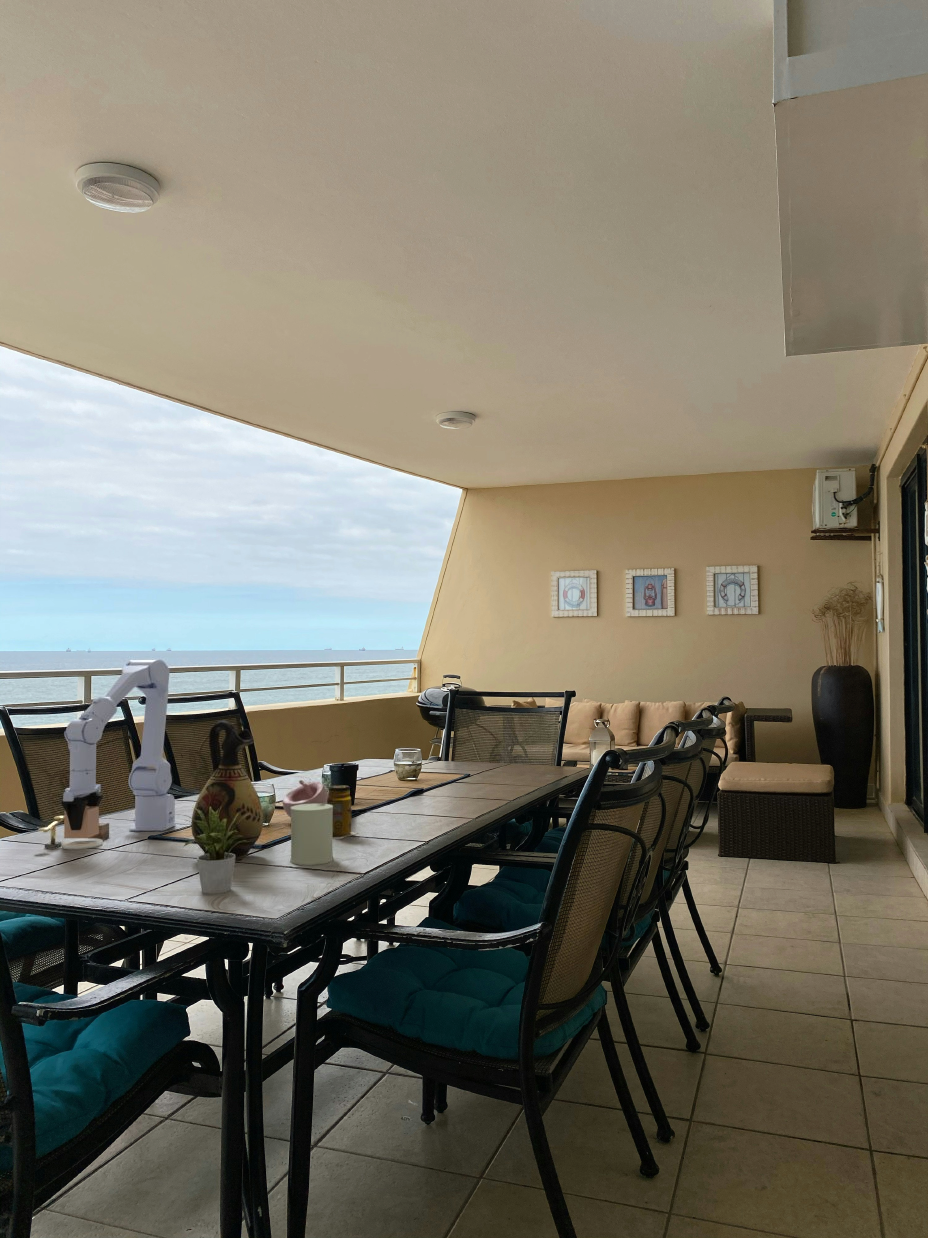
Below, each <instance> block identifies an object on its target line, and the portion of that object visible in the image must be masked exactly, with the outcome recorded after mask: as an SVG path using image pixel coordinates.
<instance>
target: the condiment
mask: <svg viewBox="0 0 928 1238" xmlns="http://www.w3.org/2000/svg"><path fill="white" fill-rule="evenodd" d="M350 789H351V788H350V786H349V785H345V784H344V785H343V784H337V785H335V784H334V785H330V786H329V787H328V792H327V795H328V798H327V804H330V805H332V806H333V819H332V839H335V840H341V839H344V838H347V837H350V836H353V835H357V834H358V832H356V831H355V832H354V831H352V797H351V795H350V794H351V793H350V792H351V791H350Z"/></svg>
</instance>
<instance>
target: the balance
mask: <svg viewBox="0 0 928 1238" xmlns="http://www.w3.org/2000/svg"><path fill="white" fill-rule="evenodd" d="M53 820H55V821H53V822H52V823H50V824H49V825H48V826H45V827H41V828H40V827H39V828H38V832H43V833H48V832H50V841H49V842H46V843H45V844H44V849H45V848H47V849H48V848H55V849H57V848H59V847H58V846H60V847H61V843H62V841H56V835H57V833H56V828H57V827H56V826H57V825H58V824H60V823H61V822H63V821H64V815H56V816H53ZM56 847H57V848H56Z"/></svg>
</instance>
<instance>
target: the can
mask: <svg viewBox="0 0 928 1238" xmlns="http://www.w3.org/2000/svg"><path fill="white" fill-rule="evenodd" d="M332 819H333V806H332V805H330V804H319V803H314V804H300V805H295V806H292V807H291V818H290V861H289V862H290V863H291V864H293V865H299V866H300V865H301V866H317V865H323V864H327V863H331V862H332V861H333V860H334V854H333V852H334V851H333V850H334V849H333V848H334V847H333V838H332Z"/></svg>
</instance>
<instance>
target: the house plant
mask: <svg viewBox="0 0 928 1238" xmlns="http://www.w3.org/2000/svg"><path fill="white" fill-rule="evenodd" d="M221 807H222V806H221ZM194 809H196V808H194V807H193V810H194ZM220 809H221V808H220ZM196 810H197V811H198V813H199V814H200V816H201V819H202V821H197V822H198V823H199V824H198V823H197V822H196V821H195V820H194V819H193V818H192V816H189V815H186V814H183V816H185V817H187V818H189V819H191V820H192V819H193V820H194V821H195V822H196V823H197V824H196V825H198V826H199V827H200V828H201V829H202V831H203V832H204V834H202V835H200V836H197V837H199V838H200V839H202V841H203V842H204V843H203V842H200V841H195V840H190V839H189V838H186V837H185V839H186V840H189V841H186V842H185V843H184V845H183V846H182V848H184V847H187V846H188V845H190V844H194V843H197V842H200V843H202V844H203V845H204V846H205V848H206V850H208V853H209V854H204V853H203V854H202V855H199V856H197V857H196V862H197V868H198V875H199V882H200V886H201V892H202V893H204V894H211V895H212V894H221V893H226V892H229V891H230V890H231V888H232V887H231V886H232V881H233V874H234V869H235V862H236V861H235V854H232V853H229V852H230V851H231V849H232V848H233V847H234V846H235V845H236V844H238V843H240V842H243V841H246V840H243V841H240V842H238V843H236V844H235V845H233V846H232V847H231V849H230V850H229V852H228V853H225V852H226V850H227V848H228V847H229V846H230V845H231V843H232V842H233V841H234V840H235V839H237V838H239V837H242V836H240V835H237V836H233V837H231V838H230V839H229V840H228V841H227V842H226V840H227V838H228V836H229V835H230V834H231V833H232V832H234V831H232V830H231V831H230V832H229V829H230V828H231V826H232V824H233V823H234V821H235V819H236V817H237V815H238V814H239V813H238V814H237V815H236V817H235V818H234V820H233V821H232V823H231V825H230V827H229V828H228V830H227V832H226V835H225V836H224V834H225V830H226V821H227V818H225V819H223V820H222V821H221V822H220V820H219V812H220V810H219V809H218V810H219V812H218V810H217V811H216V812H214V811H213V810H212V809H211V807H210V808H209V823H210V829H209V827H208V824H207V822H206V819H205V816H204V815H203V813H202V812H201V811H200V810H198V809H196ZM217 812H218V815H217ZM250 814H251V813H250ZM174 815H175V816H176V815H177V816H180V814H179V813H178V814H176V813H175V814H174ZM247 815H248V814H247ZM244 817H245V816H244ZM244 817H243V818H244ZM185 822H189V823H190V824H191V823H192V821H190V820H187V819H185ZM192 824H193V823H192ZM193 825H194V824H193ZM194 826H195V825H194ZM195 827H196V826H195ZM234 827H235V826H234ZM234 827H233V828H234ZM196 828H197V827H196ZM197 830H198V829H197ZM198 831H199V830H198ZM200 834H201V833H200ZM177 838H179V839H184V837H181V836H179V837H177ZM225 843H226V844H225ZM197 848H198V849H199V850H201V848H200V846H197Z"/></svg>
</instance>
